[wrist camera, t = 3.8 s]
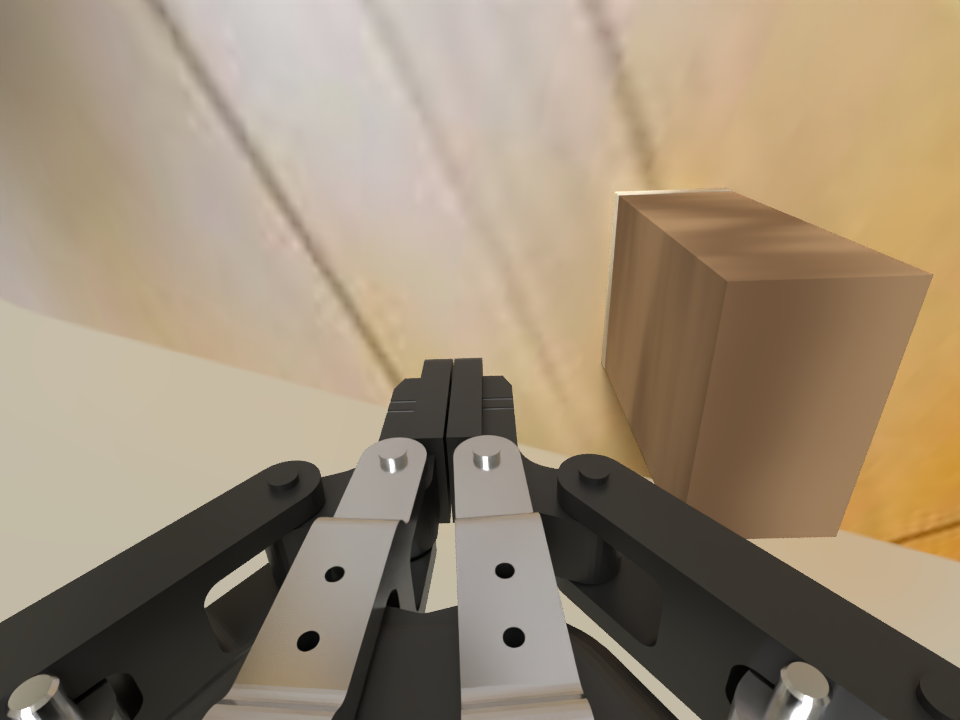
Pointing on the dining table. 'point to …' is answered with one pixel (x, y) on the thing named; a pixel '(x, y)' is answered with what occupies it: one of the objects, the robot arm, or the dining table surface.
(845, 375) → the walnut block
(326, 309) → the dining table surface
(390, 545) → the robot arm
